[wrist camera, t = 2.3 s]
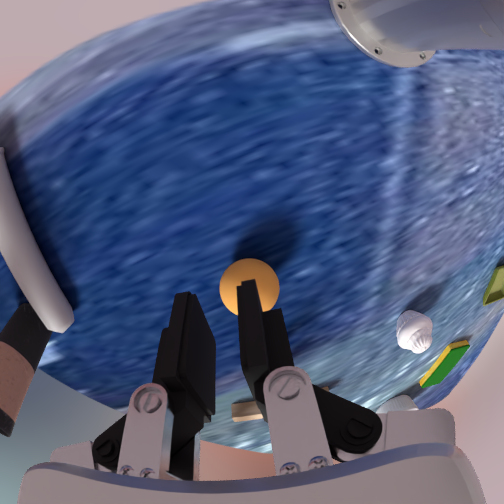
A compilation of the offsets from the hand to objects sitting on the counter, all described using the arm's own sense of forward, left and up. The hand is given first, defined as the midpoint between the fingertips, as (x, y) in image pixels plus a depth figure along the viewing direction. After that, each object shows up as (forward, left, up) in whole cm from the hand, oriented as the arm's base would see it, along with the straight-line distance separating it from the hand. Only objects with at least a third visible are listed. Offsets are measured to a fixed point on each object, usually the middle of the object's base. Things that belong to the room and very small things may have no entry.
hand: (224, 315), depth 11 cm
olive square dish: (-46, +25, -18) cm, 55 cm away
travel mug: (+35, +12, -17) cm, 41 cm away
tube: (+26, 0, -18) cm, 31 cm away
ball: (0, +10, -14) cm, 17 cm away
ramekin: (-27, +60, -18) cm, 68 cm away
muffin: (-22, +25, -17) cm, 38 cm away
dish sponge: (-38, +47, -18) cm, 63 cm away
